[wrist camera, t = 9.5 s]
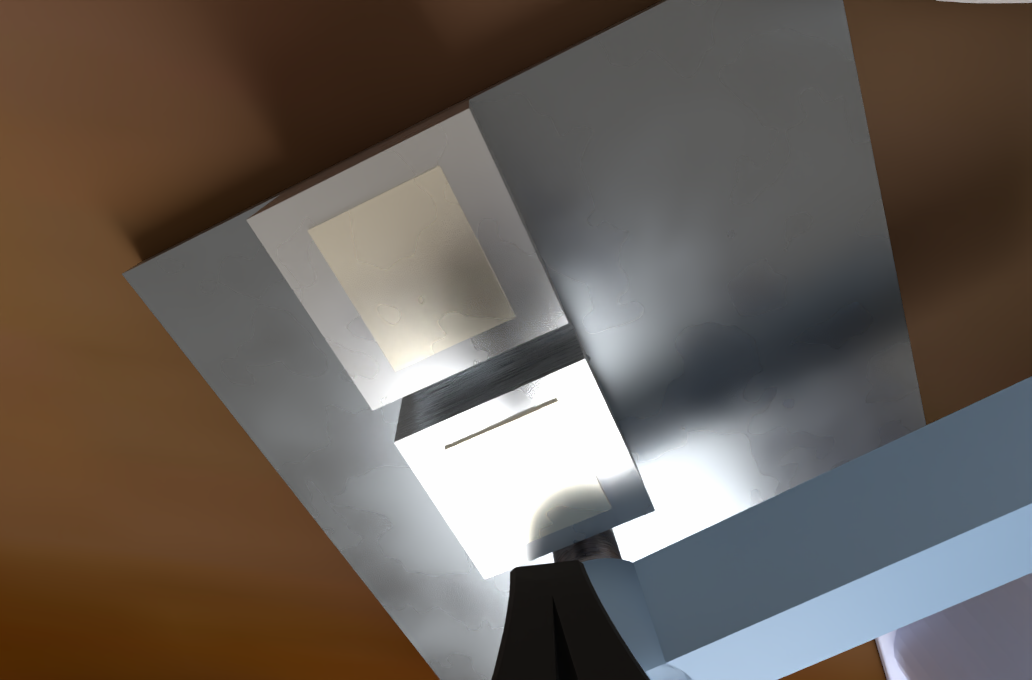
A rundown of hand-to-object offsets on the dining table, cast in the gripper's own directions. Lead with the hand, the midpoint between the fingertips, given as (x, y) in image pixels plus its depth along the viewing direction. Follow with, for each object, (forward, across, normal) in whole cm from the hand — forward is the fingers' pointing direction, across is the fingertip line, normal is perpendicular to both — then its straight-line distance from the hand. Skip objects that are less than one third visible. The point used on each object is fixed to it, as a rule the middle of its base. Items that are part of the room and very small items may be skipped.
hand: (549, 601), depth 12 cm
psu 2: (+7, +2, -6) cm, 9 cm away
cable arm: (+3, -7, +2) cm, 8 cm away
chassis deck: (+7, -2, 0) cm, 8 cm away
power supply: (+7, 0, 0) cm, 7 cm away
